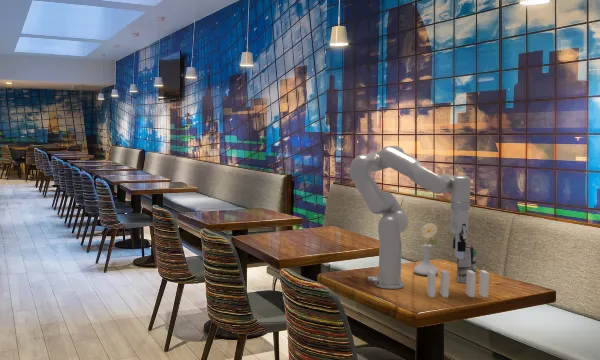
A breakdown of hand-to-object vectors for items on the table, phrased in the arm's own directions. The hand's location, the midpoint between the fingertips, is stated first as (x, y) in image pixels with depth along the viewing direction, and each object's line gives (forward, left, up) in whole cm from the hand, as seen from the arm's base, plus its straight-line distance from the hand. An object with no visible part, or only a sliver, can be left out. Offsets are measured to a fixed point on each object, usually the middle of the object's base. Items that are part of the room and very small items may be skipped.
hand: (459, 249), depth 243 cm
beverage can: (+17, +38, -19) cm, 46 cm away
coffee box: (+11, +24, -19) cm, 33 cm away
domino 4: (+5, 0, -19) cm, 20 cm away
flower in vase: (-3, +36, -19) cm, 41 cm away
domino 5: (+11, 0, -19) cm, 22 cm away
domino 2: (-6, 0, -19) cm, 20 cm away
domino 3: (0, 0, -3) cm, 3 cm away
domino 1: (-11, 0, -19) cm, 22 cm away
